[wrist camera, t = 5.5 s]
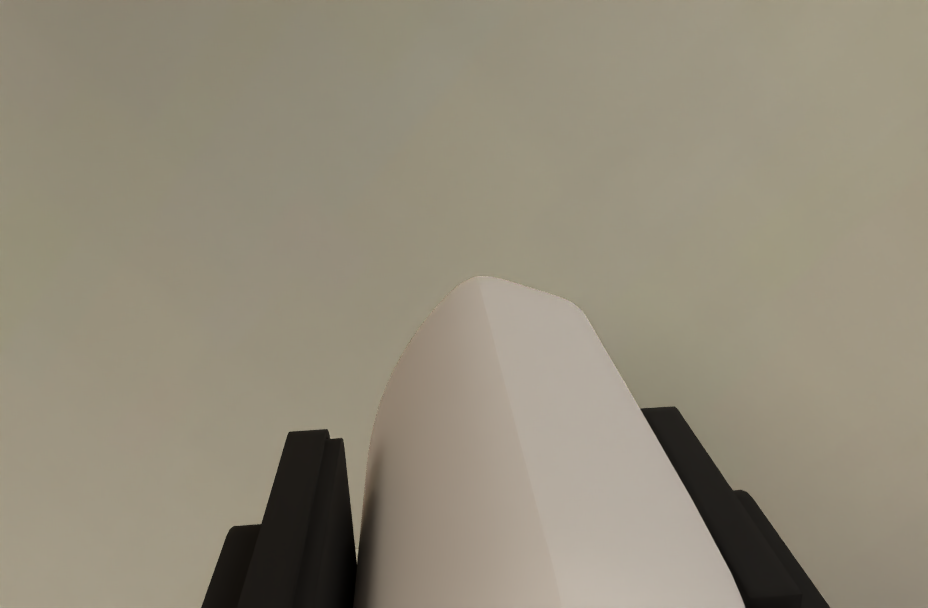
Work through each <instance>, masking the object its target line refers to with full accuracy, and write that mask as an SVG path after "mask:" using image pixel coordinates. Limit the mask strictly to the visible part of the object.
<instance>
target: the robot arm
mask: <svg viewBox="0 0 928 608" xmlns="http://www.w3.org/2000/svg"><path fill="white" fill-rule="evenodd" d="M640 410H641V411H642V413H643V415H644V417H645V418H646V420H647V422H648V424H649V425H650V427H651V429H652V431H653V432H654V434H655V436H656V438H657V439H658V441H659V443H660V445H661V446H662V448H663V450H664V452H665V453H666V455H667V457H668V459H669V460H670V462H671V464H672V466H673V467H674V469H675V471H676V473H677V474H678V476H679V478H680V479H681V481H682V483H683V485H684V486H685V488H686V490H687V492H688V493H689V495H690V497H691V499H692V500H693V502H694V504H695V506H696V508H697V510H698V512H699V514H700V516H701V517H702V519H703V521H704V523H705V525H706V527H707V529H708V531H709V532H710V534H711V536H712V538H713V540H714V542H715V544H716V546H717V547H718V549H719V551H720V553H721V555H722V557H723V559H724V561H725V562H726V564H727V566H728V568H729V570H730V572H731V574H732V576H733V578H734V581H735V583H736V586H737V588H738V590H739V593H740V595H741V597H742V600H743V603H744V605H745V608H830V607H829V605H828V604H827V603H826V601H825V600H824V598H823V597H822V596H821V594H820V593H819V591H818V590H817V588H816V587H815V586H814V584H813V583H812V581H811V580H810V579H809V577H808V576H807V574H806V573H805V572H804V570H803V569H802V567H801V566H800V564H799V563H798V562H797V560H796V559H795V557H794V556H793V555H792V553H791V552H790V550H789V549H788V547H787V546H786V545H785V543H784V542H783V540H782V539H781V538H780V536H779V535H778V533H777V532H776V531H775V529H774V528H773V526H772V525H771V523H770V522H769V521H768V519H767V518H766V516H765V515H764V514H763V512H762V511H761V509H760V508H759V506H758V505H757V504H756V502H755V501H754V499H753V498H752V497H751V496H750V495H749V494H748V493H747V492H745V491H742V490H735V491H733V490H732V489H731V487H730V486H729V484H728V483H727V482H726V480H725V479H724V477H723V476H722V474H721V473H720V471H719V470H718V468H717V467H716V465H715V464H714V462H713V461H712V459H711V458H710V456H709V455H708V453H707V452H706V450H705V449H704V448H703V446H702V445H701V443H700V442H699V440H698V439H697V437H696V436H695V434H694V433H693V431H692V430H691V428H690V427H689V425H688V424H687V422H686V421H685V419H684V418H683V416H682V415H681V414H680V412H679V411H678V409H677V408H676V407H658V408H643V409H640ZM356 571H357V561H356V552H355V543H354V533H353V524H352V514H351V505H350V496H349V486H348V477H347V468H346V458H345V449H344V442H343V439H342V438H336V439H330V436H329V432H328V430H327V429H323V430H308V431H293V432H289V433H288V435H287V439H286V442H285V445H284V449H283V452H282V456H281V459H280V462H279V466H278V469H277V473H276V476H275V479H274V483H273V486H272V490H271V493H270V497H269V500H268V503H267V507H266V510H265V514H264V517H263V520H262V524H257V525H243V526H233V527H232V528H231V529H230V530H229V532H228V534H227V536H226V539H225V542H224V545H223V548H222V550H221V553H220V556H219V559H218V562H217V565H216V567H215V570H214V573H213V576H212V579H211V582H210V584H209V587H208V590H207V593H206V596H205V599H204V601H203V604H202V607H201V608H353V602H354V592H355V582H356Z"/></svg>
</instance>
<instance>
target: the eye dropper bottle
mask: <svg viewBox="0 0 928 608" xmlns="http://www.w3.org/2000/svg"><path fill="white" fill-rule="evenodd" d="M353 608H745V605H744V603H743V600H742V597H741V595H740V593H739V590H738V588H737V586H736V583H735V581H734V578H733V576H732V574H731V572H730V570H729V568H728V566H727V564H726V562H725V561H724V559H723V557H722V555H721V553H720V551H719V549H718V547H717V546H716V544H715V542H714V540H713V538H712V536H711V534H710V532H709V531H708V529H707V527H706V525H705V523H704V521H703V519H702V517H701V516H700V514H699V512H698V510H697V508H696V506H695V504H694V502H693V500H692V499H691V497H690V495H689V493H688V492H687V490H686V488H685V486H684V485H683V483H682V481H681V479H680V478H679V476H678V474H677V473H676V471H675V469H674V467H673V466H672V464H671V462H670V460H669V459H668V457H667V455H666V453H665V452H664V450H663V448H662V446H661V445H660V443H659V441H658V439H657V438H656V436H655V434H654V432H653V431H652V429H651V427H650V425H649V424H648V422H647V420H646V418H645V417H644V415H643V413H642V411H641V410H640V408H639V406H638V404H637V403H636V401H635V399H634V397H633V396H632V394H631V392H630V391H629V389H628V387H627V385H626V384H625V382H624V380H623V379H622V377H621V375H620V373H619V372H618V370H617V368H616V367H615V365H614V363H613V361H612V360H611V358H610V356H609V355H608V353H607V351H606V349H605V348H604V346H603V344H602V343H601V341H600V339H599V337H598V336H597V334H596V332H595V331H594V329H593V327H592V326H591V324H590V322H589V320H588V319H587V317H586V315H585V314H584V312H583V311H582V309H580V308H579V307H577V306H576V305H575V304H573V303H572V302H570V301H569V300H567V299H564V298H561V297H558V296H555V295H553V294H550V293H547V292H543V291H540V290H537V289H534V288H531V287H527V286H524V285H521V284H518V283H515V282H511V281H508V280H504V279H500V278H497V277H492V276H475V277H472V278H470V279H468V280H466V281H464V282H462V283H460V284H458V285H457V286H456V287H455V288H454V289H453V290H452V291H451V292H450V293H449V294H448V295H447V296H446V297H445V298H444V299H443V300H442V301H441V302H440V303H439V304H438V305H437V307H436V308H435V309H434V310H433V311H432V312H431V314H430V315H429V316H428V317H427V319H426V320H425V321H424V322H423V324H422V325H421V326H420V328H419V329H418V330H417V332H416V333H415V335H414V336H413V338H412V339H411V340H410V342H409V344H408V345H407V347H406V348H405V350H404V352H403V353H402V355H401V357H400V359H399V361H398V362H397V364H396V366H395V368H394V370H393V372H392V374H391V376H390V379H389V381H388V383H387V385H386V388H385V390H384V393H383V396H382V398H381V401H380V404H379V407H378V410H377V414H376V417H375V421H374V425H373V430H372V434H371V439H370V445H369V451H368V458H367V468H366V478H365V488H364V498H363V509H362V519H361V530H360V540H359V550H358V561H357V571H356V582H355V592H354V602H353Z"/></svg>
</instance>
